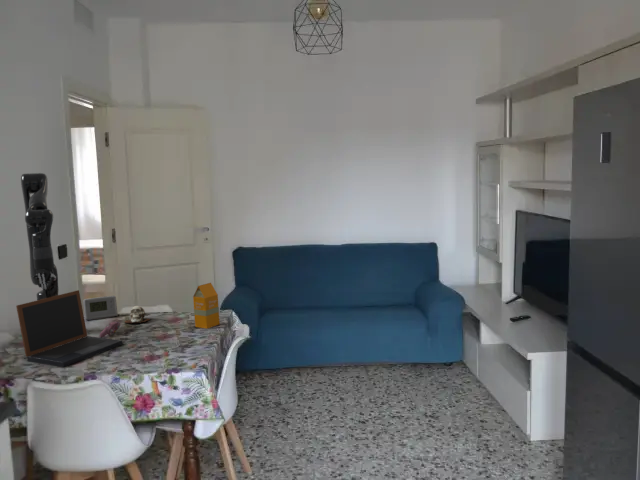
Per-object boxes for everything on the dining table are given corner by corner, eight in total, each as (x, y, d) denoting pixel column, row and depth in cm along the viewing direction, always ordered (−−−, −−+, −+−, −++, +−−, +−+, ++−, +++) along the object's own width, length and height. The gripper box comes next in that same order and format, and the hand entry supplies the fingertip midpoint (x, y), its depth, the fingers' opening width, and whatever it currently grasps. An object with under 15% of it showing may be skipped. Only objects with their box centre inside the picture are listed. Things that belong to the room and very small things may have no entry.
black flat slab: (122, 344, 245) (122, 340, 245) (63, 367, 218) (63, 362, 218) (87, 339, 254) (87, 335, 254) (27, 361, 228) (27, 356, 227)
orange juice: (219, 324, 272) (217, 283, 269) (207, 328, 264) (204, 286, 262) (207, 322, 276) (205, 281, 273) (194, 326, 268) (191, 285, 266)
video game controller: (106, 340, 257) (111, 327, 255) (98, 336, 257) (103, 323, 256) (118, 334, 266) (123, 321, 265) (110, 330, 267) (115, 317, 266)
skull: (148, 321, 277) (132, 307, 276) (133, 336, 278) (118, 322, 277) (154, 314, 289) (139, 301, 288) (140, 328, 290) (126, 315, 289)
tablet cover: (79, 290, 253) (77, 290, 253) (17, 305, 226) (16, 305, 226) (87, 336, 254) (86, 336, 254) (27, 356, 227) (25, 356, 228)
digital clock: (83, 321, 289) (81, 300, 287) (86, 317, 297) (84, 297, 296) (116, 318, 292) (115, 297, 291) (119, 314, 301) (117, 294, 300)
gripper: (61, 256, 238) (65, 296, 240) (40, 255, 244) (44, 294, 246) (46, 258, 232) (50, 300, 234) (24, 257, 238) (29, 298, 240)
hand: (47, 297), depth 240 cm, fingers closed
